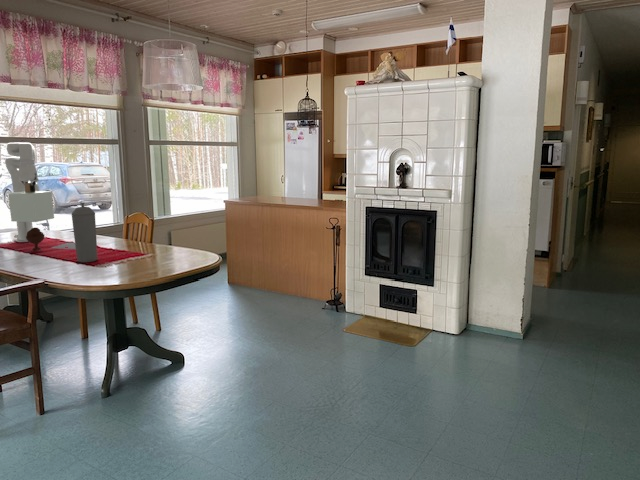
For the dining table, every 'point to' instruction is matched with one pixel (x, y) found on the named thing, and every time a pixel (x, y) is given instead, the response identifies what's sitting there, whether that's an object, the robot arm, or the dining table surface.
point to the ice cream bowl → (35, 237)
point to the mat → (69, 245)
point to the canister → (85, 233)
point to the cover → (31, 205)
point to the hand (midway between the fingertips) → (30, 191)
